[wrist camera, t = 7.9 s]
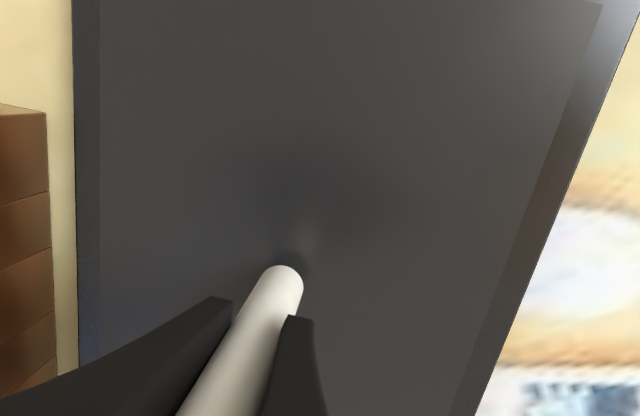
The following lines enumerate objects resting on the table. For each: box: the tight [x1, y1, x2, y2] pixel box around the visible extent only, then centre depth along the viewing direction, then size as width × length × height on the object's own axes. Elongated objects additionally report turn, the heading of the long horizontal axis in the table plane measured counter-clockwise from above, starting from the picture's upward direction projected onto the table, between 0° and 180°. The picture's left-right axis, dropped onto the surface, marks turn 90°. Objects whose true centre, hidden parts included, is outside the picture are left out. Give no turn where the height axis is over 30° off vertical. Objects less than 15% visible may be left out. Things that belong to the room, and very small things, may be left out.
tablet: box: [71, 0, 640, 416], centre depth 14 cm, size 22×16×1 cm
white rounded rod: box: [175, 265, 303, 416], centre depth 9 cm, size 2×2×8 cm
